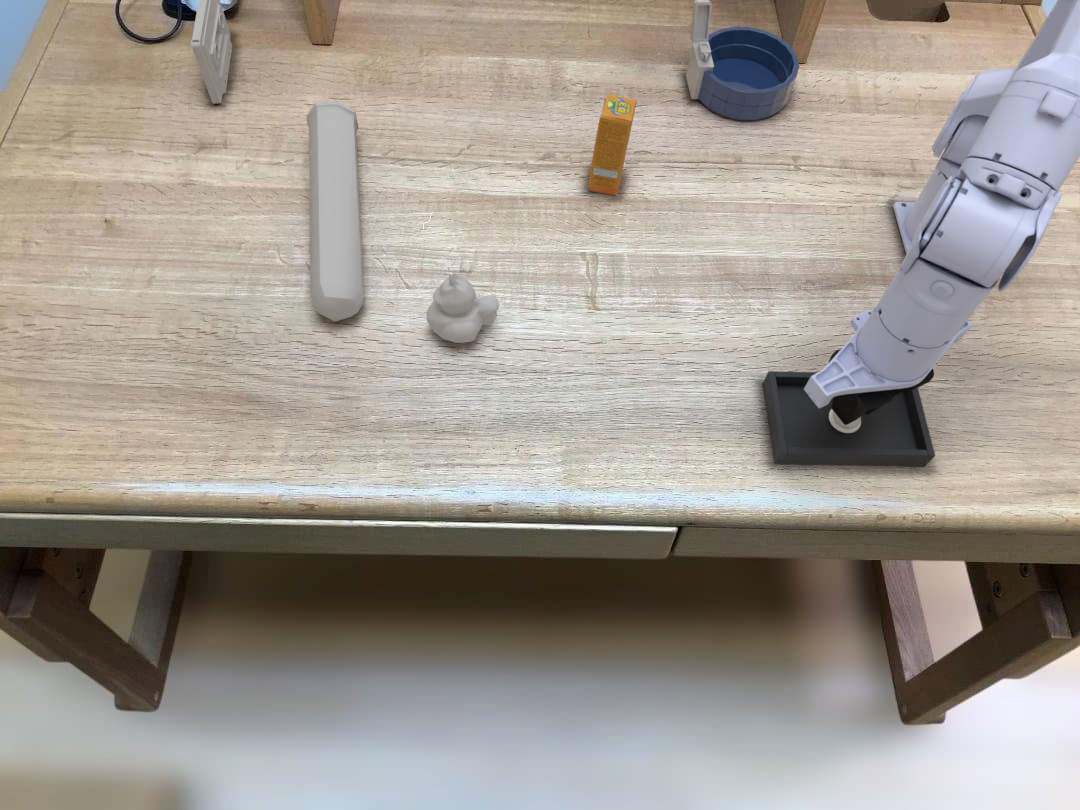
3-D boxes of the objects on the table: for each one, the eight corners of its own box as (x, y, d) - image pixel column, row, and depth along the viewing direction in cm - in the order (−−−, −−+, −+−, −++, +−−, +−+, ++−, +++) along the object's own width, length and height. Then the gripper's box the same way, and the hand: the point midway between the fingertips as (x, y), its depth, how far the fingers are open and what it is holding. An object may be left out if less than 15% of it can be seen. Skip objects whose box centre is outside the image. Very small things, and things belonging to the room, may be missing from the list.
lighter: (706, 99, 96) (721, 37, 89) (691, 99, 96) (705, 37, 89) (696, 57, 100) (710, -5, 93) (681, 58, 100) (694, -5, 93)
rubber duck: (426, 307, 80) (419, 251, 74) (496, 301, 81) (495, 246, 74) (430, 355, 78) (423, 302, 71) (502, 348, 78) (502, 295, 72)
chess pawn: (856, 438, 74) (878, 410, 70) (824, 427, 75) (844, 398, 70) (863, 413, 76) (885, 384, 71) (832, 401, 76) (852, 371, 72)
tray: (904, 386, 78) (914, 374, 76) (925, 466, 74) (935, 455, 72) (762, 383, 78) (768, 370, 76) (774, 464, 73) (781, 453, 72)
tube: (373, 299, 76) (362, 105, 88) (311, 292, 74) (309, 95, 86) (362, 333, 80) (353, 143, 92) (303, 328, 78) (303, 135, 90)
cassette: (219, 35, 99) (198, -27, 92) (235, 34, 99) (216, -28, 93) (208, 105, 93) (185, 45, 87) (225, 105, 93) (204, 44, 87)
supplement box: (619, 197, 88) (632, 121, 80) (587, 191, 89) (596, 115, 80) (624, 174, 90) (637, 98, 81) (592, 169, 90) (602, 92, 82)
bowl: (781, 57, 101) (791, 28, 97) (795, 123, 95) (806, 94, 92) (687, 54, 100) (693, 24, 97) (695, 120, 95) (703, 91, 91)
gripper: (955, 244, 65) (886, 344, 77) (804, 312, 61) (756, 406, 73) (1020, 310, 62) (938, 404, 74) (866, 386, 58) (805, 472, 70)
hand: (851, 409), depth 73 cm, fingers closed on chess pawn, 2 cm apart
